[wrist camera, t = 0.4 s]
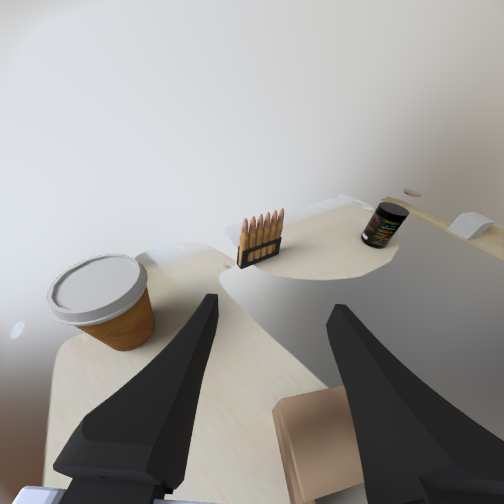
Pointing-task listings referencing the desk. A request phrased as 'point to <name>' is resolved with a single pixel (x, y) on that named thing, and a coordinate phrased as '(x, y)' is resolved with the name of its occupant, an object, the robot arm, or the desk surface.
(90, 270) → the disposable coffee cup
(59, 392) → the desk surface
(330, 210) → the desk surface
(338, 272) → the desk surface
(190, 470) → the desk surface
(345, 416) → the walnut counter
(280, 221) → the ammunition clip
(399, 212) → the supplement container
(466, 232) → the grey cube
